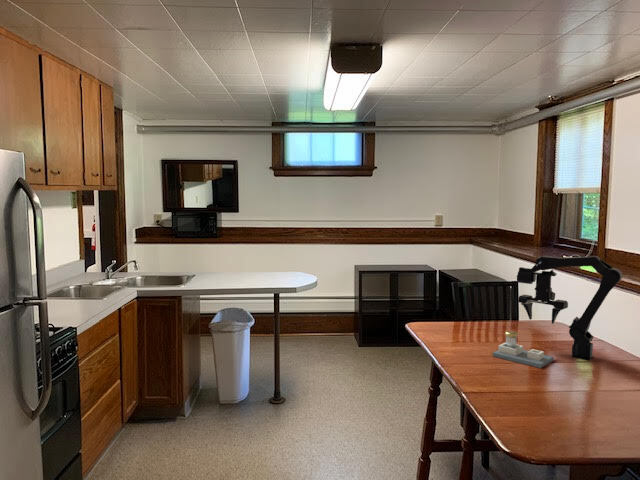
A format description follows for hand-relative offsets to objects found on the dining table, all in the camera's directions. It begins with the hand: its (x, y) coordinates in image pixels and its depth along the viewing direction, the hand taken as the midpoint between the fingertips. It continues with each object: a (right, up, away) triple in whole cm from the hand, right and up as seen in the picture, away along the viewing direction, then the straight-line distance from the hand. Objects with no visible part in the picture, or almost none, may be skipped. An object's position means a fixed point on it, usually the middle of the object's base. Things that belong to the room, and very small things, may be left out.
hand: (541, 321), depth 203 cm
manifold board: (-13, -13, -11) cm, 22 cm away
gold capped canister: (-16, -11, -8) cm, 21 cm away
